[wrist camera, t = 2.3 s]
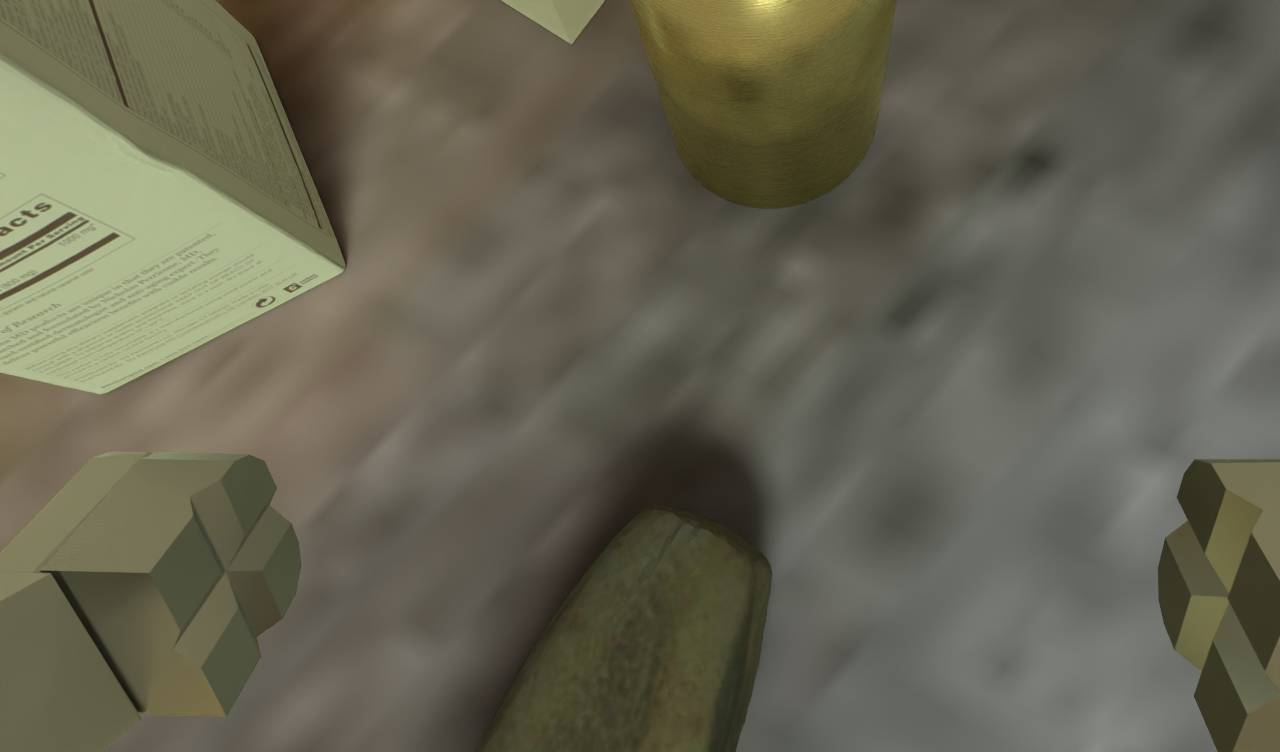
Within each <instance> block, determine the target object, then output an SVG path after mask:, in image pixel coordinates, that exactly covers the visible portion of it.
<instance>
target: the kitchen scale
mask: <svg viewBox="0 0 1280 752" xmlns="http://www.w3.org/2000/svg"><path fill="white" fill-rule="evenodd" d="M501 1H503V2H504V3H506V4H507V5H509V6H511V7H512V8H514V9H515V10H517V11H519V12H520V13H522V14H523V15H525V16H527V17H528V18H530V19H531V20H533V21H535V22H536V23H538V24H539V25H541V26H543V27H544V28H546V29H547V30H549V31H551V32H552V33H554V34H556V35H557V36H559V37H560V38H562V39H564V40H565V41H567V42H568V43H570V44H572V43H573V42H574V41H575V39H576V38H577V37H578V36H579V34H580V33H581V32H582V30H583V29H584V28H585V26H586V25H587V24H588V22H589V21H590V20H591V18H592V17H593V16H594V14H595V13H596V12H597V11H598V9H599V8H600V7H601V5H602V4H603V3H604V1H605V0H501Z"/></svg>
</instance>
